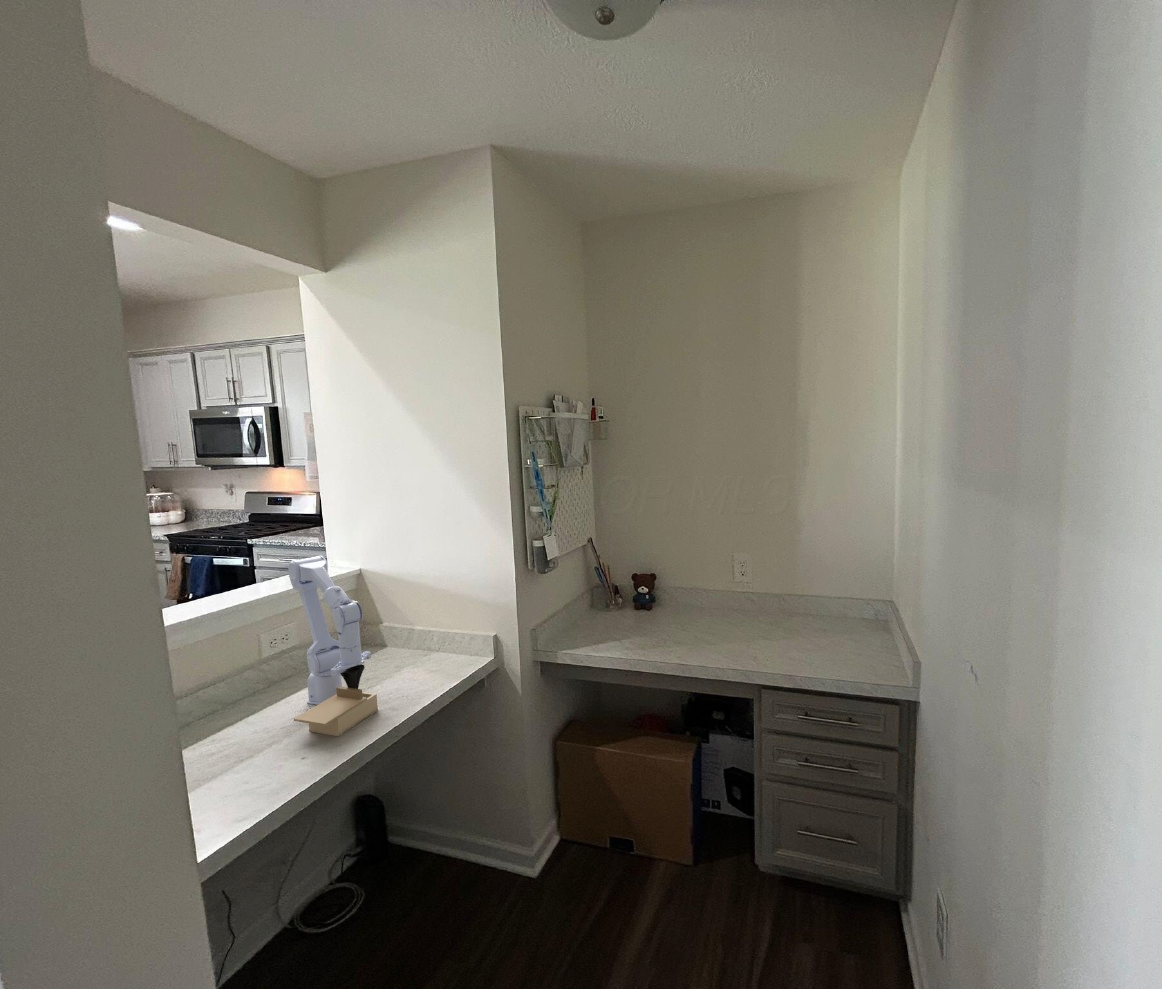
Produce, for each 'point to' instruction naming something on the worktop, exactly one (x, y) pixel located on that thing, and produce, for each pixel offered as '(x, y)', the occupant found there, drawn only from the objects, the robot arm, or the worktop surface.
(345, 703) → the lid
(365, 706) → the lidded box
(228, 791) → the worktop surface
